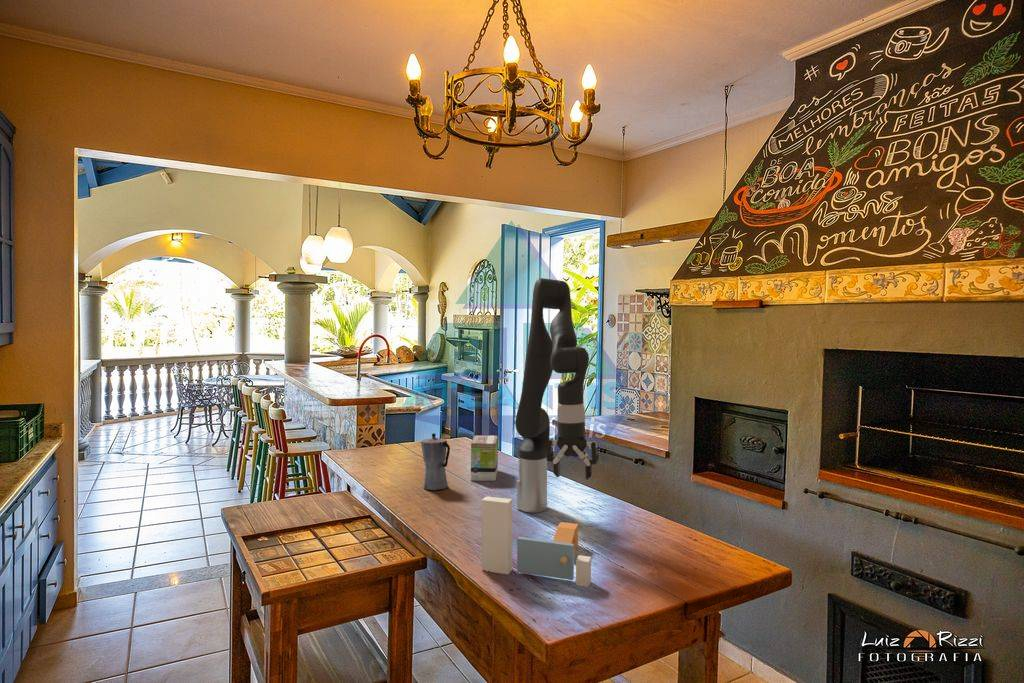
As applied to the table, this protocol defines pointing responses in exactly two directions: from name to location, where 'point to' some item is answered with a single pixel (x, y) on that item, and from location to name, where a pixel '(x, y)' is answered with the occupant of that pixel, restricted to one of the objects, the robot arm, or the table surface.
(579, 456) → the robot arm
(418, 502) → the table surface
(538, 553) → the door
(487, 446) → the tea box
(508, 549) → the door frame
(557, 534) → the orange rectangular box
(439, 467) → the moka pot
